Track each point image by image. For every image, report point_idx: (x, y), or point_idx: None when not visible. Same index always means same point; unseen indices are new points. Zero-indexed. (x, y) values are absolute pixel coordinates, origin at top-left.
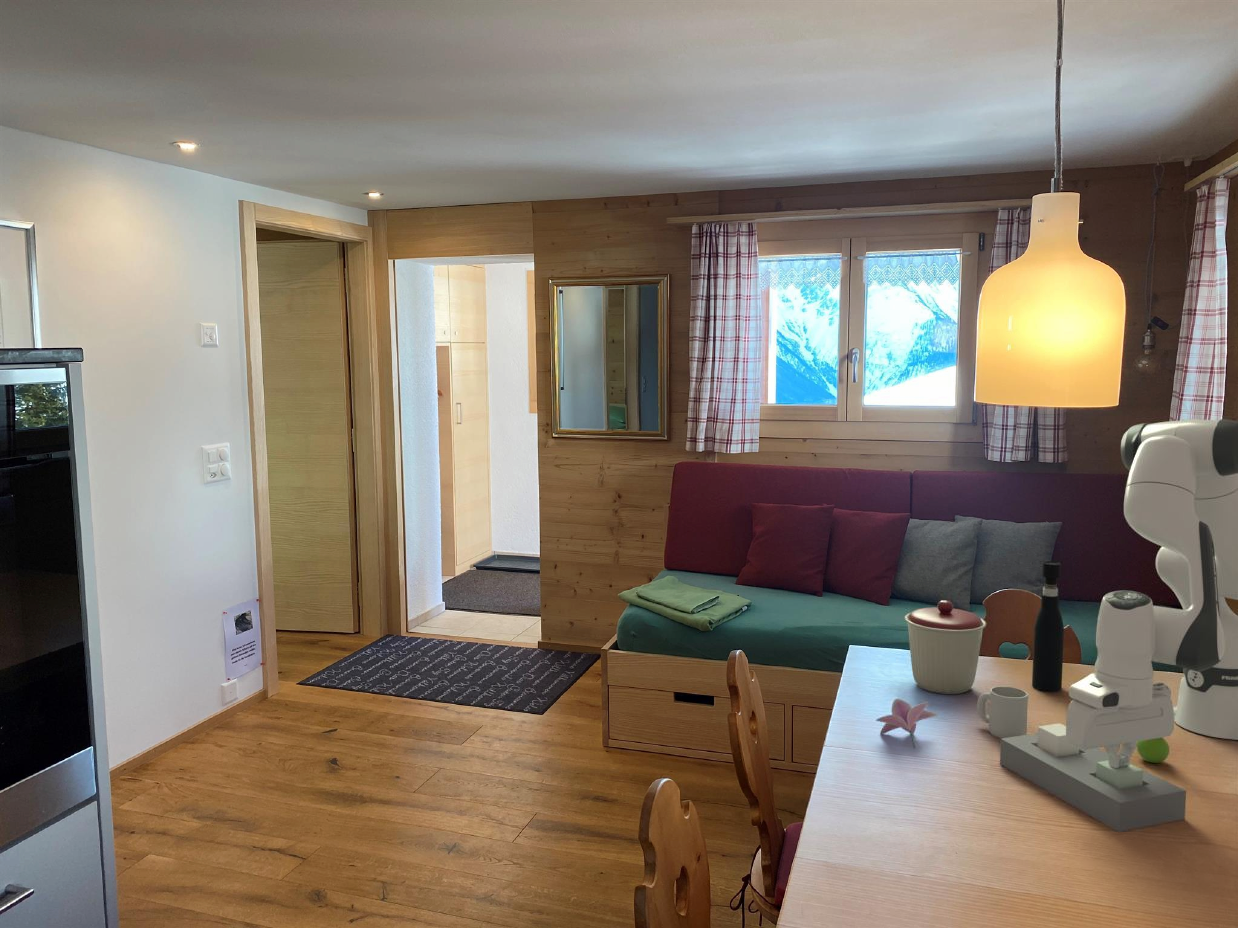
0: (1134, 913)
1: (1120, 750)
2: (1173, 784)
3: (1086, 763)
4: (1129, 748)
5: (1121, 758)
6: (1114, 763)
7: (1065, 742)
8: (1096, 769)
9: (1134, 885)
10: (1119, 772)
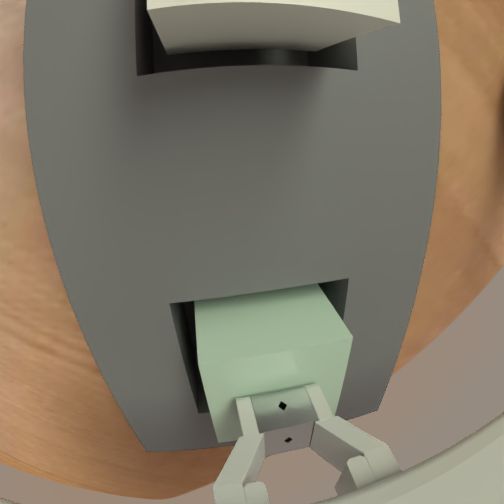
0: (69, 482)
1: (327, 430)
2: (385, 387)
3: (248, 193)
4: (342, 466)
5: (272, 453)
6: (240, 430)
7: (237, 21)
8: (196, 337)
9: (90, 467)
10: (227, 434)
